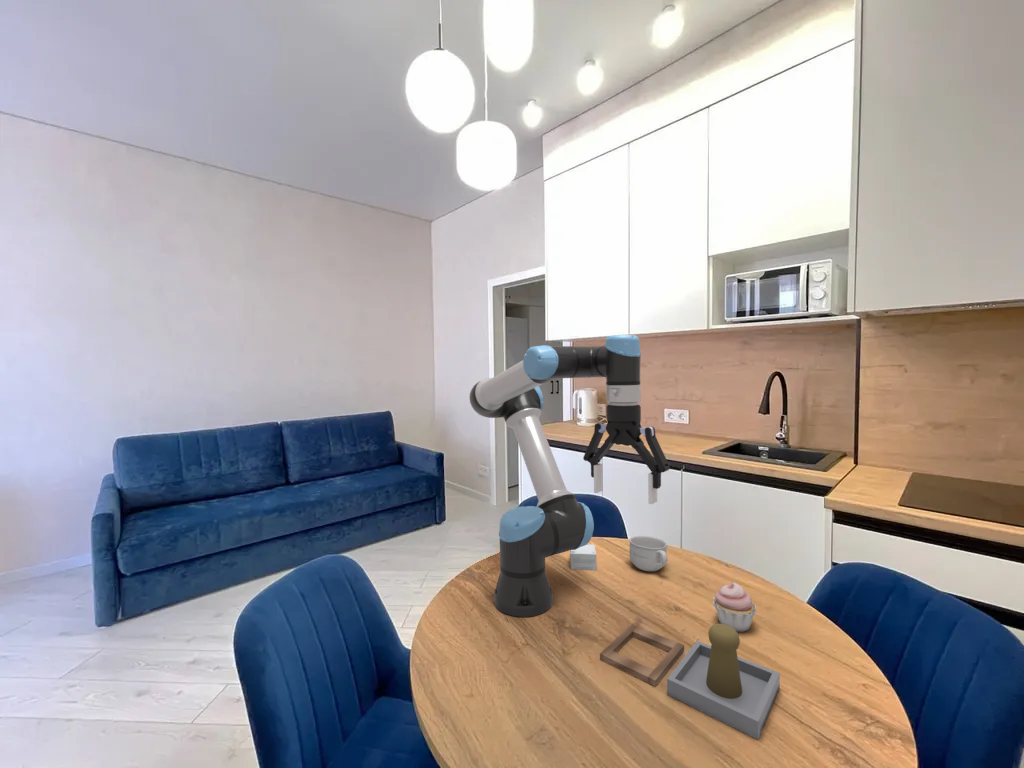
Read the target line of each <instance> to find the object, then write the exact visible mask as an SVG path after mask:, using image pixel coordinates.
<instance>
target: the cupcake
mask: <svg viewBox="0 0 1024 768" xmlns="http://www.w3.org/2000/svg"><path fill="white" fill-rule="evenodd" d="M712 599H713V601H712V605H713V606H714V608H715V610H716V613H717V616H718V620H719V624H725V625H728V626H730V627H732V628H734V629H735V630H736V632H737V633H740V632H741V633H743V632H747V631H749V629H750V627H751V625H752V621H753V618H754V617H755V615H756V613H757V611H758V610H757V609H756V608H757V606H756V604H754V603H753V600H752V598H751V596H750V594H749V593H748V592H746V591H745V589H744V588H743V587H742V586H741V585H740V584H738V583H736V582H733V581H732V582H731V583H730V584H724V585H723V586H721V588H720V589H719V590H717V591H716V592H715V596H713V597H712Z"/></svg>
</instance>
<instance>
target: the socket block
mask: <svg viewBox="0 0 1024 768" xmlns="http://www.w3.org/2000/svg"><path fill="white" fill-rule="evenodd" d="M632 638H636V639H638V640H640V641H643V642H645V643H647V644H649V645H651V646H654V647H655V648H659V649H661V650H664V651H666V652H667V653H666V655H665V656H664V657H663V658H662V660H661V661H660V662H659V663H658V664H657V665H656V666H655V668H654V669H652V668H650V667H647V666H646V665H645V664H642V663H639V662H638V661H636V660H633V659H630V658H629V657H626V656H624V655H623V654H621V653H618V652H619V651H620V649H622V648H623V647H624V646H625V645H626V644H627V643H628V642H629V641H630V640H631V639H632ZM684 651H685V645H684V644H683V643H679V642H677V641H675V640H672V639H669V638H668V637H665V636H662V635H660V634H658V633H655V632H654V631H651V630H648V629H645V628H643V627H641V626H638V625H635V624H633V623H631V624H630V625H629V626H628V627H627V628H626V629H625V630H623V631H622V633H620V634H619V635H618V636H617V637H616V638H615V639H614V640H613V641H612V642H611V643H610V644H609V645H608V646H606V647H605V648H604V649H603V650H602V651H600V652H599V660H600V661H603V662H605V663H607V664H608V665H610V666H613V667H614V668H616V669H619V670H621V671H623V672H625V673H627V674H628V675H631V676H633V677H635V678H636V679H639V680H641V681H643V682H645V683H647V684H649V685H651V686H653V687H657V685H658V684H659V683H660V682H661V680H662V679H663V678H664V676H666V674H667V673H668V672H669V671H670V669H671V668H672V667H673V666H674V664H676V662H677V661H678V660H679V658H680V657H681V655H683V653H684Z"/></svg>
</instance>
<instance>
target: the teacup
mask: <svg viewBox="0 0 1024 768" xmlns="http://www.w3.org/2000/svg"><path fill="white" fill-rule="evenodd" d="M628 542H629V559H630V561H631V563H632V564H633V565H634V567H636V569H639V570H641V571H645V572H650V573H651V572H657V571H659V570H660V569H662V568H664V567H665V566H666V565H667V563H668V556H667V555H668V554H667V547H668V544H667V542H666V541H665V540H663V539H661V538H658V537H654V536H648V535H636V536H631V537H630V538H629V541H628Z"/></svg>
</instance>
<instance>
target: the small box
mask: <svg viewBox="0 0 1024 768" xmlns="http://www.w3.org/2000/svg"><path fill="white" fill-rule="evenodd" d="M569 559H570V570H574V569H575V570H579V571H581V570H583V571H598V570H597V566H598V565H597V552H596V547H595V544H593V543H591V544H590V543H588V544H586V545H585V546H582V547H579V548H577V549H576V550H569ZM575 570H574V571H575Z"/></svg>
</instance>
